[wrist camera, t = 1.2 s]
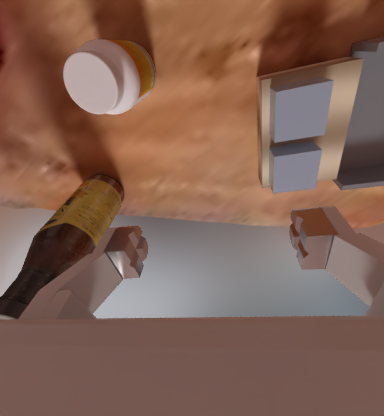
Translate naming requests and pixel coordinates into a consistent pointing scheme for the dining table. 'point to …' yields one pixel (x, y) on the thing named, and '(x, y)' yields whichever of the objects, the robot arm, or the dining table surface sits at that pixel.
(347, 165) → the tray
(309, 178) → the tile
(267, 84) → the board
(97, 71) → the supplement bottle
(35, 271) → the sauce bottle
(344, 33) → the dining table surface
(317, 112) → the tile
